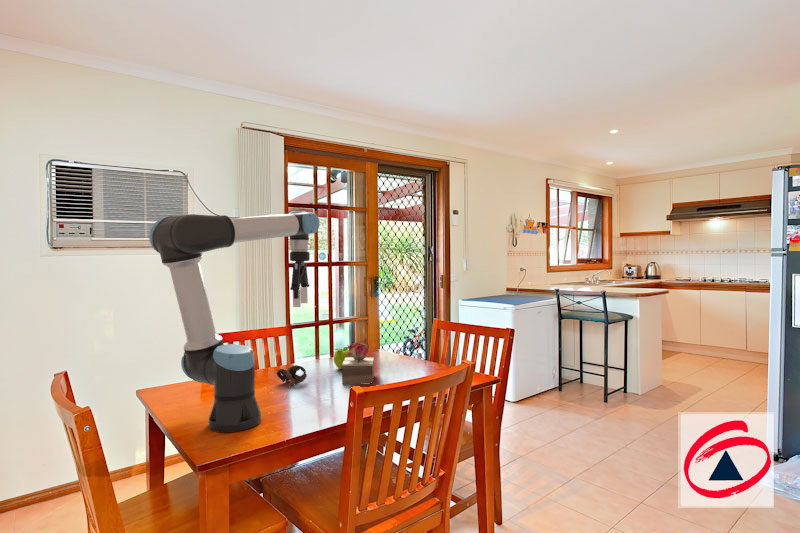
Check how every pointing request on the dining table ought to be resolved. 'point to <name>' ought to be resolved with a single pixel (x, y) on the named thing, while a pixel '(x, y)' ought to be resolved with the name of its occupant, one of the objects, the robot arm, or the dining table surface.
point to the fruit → (341, 356)
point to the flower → (358, 351)
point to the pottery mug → (292, 375)
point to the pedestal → (358, 371)
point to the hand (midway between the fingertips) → (300, 305)
